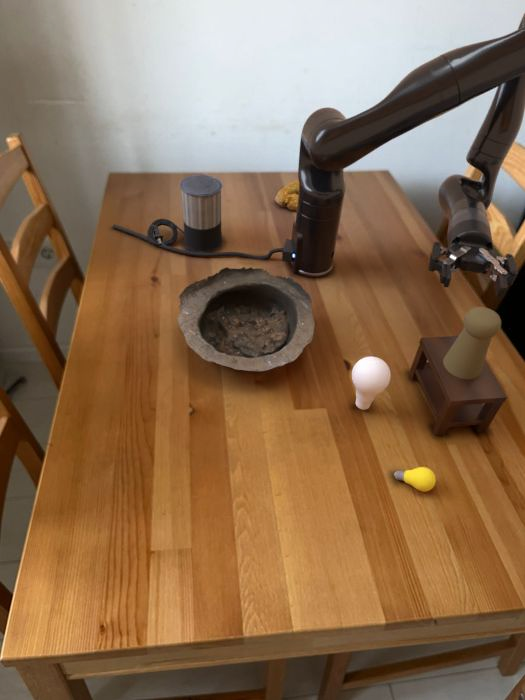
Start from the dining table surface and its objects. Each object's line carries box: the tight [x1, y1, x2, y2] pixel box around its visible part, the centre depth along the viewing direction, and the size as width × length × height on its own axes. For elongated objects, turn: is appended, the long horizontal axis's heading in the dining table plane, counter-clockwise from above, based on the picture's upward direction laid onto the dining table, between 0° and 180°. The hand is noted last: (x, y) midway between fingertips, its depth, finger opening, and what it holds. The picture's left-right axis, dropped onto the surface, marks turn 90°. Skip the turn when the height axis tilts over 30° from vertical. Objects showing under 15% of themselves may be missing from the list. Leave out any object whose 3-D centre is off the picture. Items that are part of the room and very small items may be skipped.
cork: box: [443, 306, 502, 379], centre depth 79 cm, size 6×6×11 cm
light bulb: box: [393, 466, 437, 492], centre depth 76 cm, size 3×6×4 cm, turn 70°
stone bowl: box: [177, 266, 316, 372], centre depth 94 cm, size 25×25×9 cm
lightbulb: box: [351, 356, 392, 411], centre depth 84 cm, size 6×6×11 cm
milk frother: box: [146, 173, 224, 253], centre depth 115 cm, size 14×16×15 cm
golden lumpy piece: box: [274, 180, 299, 212], centre depth 134 cm, size 10×11×5 cm
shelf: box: [408, 335, 508, 436], centre depth 86 cm, size 9×14×9 cm, turn 7°
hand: (473, 287), depth 84 cm, fingers open, 8 cm apart
